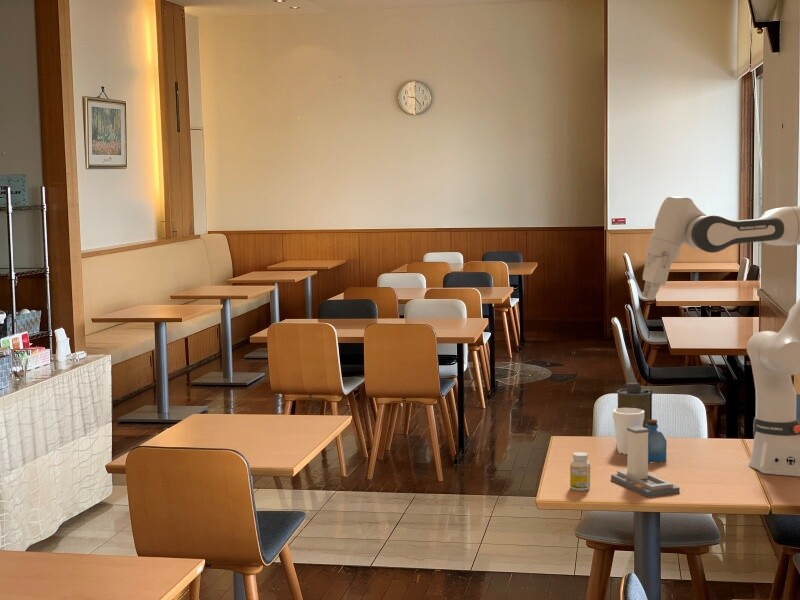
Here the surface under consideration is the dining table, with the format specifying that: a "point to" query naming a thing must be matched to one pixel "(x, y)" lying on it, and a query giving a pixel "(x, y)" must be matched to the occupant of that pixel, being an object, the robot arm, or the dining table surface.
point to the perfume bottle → (655, 442)
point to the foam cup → (626, 424)
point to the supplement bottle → (580, 472)
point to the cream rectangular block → (637, 452)
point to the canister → (636, 399)
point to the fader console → (645, 484)
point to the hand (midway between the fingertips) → (648, 298)
